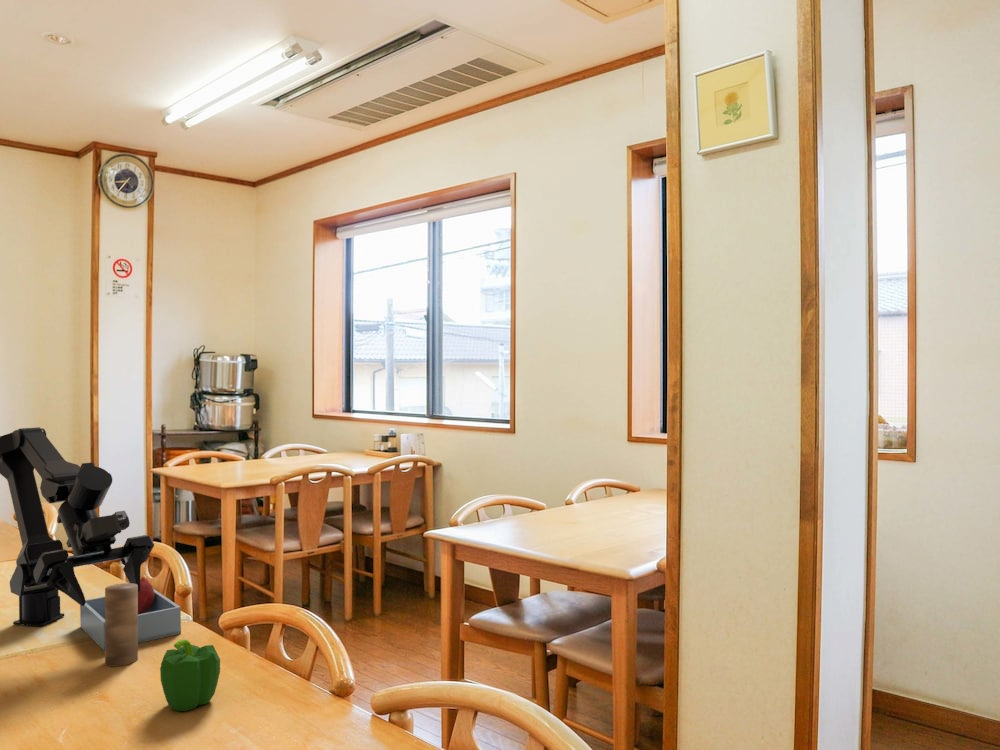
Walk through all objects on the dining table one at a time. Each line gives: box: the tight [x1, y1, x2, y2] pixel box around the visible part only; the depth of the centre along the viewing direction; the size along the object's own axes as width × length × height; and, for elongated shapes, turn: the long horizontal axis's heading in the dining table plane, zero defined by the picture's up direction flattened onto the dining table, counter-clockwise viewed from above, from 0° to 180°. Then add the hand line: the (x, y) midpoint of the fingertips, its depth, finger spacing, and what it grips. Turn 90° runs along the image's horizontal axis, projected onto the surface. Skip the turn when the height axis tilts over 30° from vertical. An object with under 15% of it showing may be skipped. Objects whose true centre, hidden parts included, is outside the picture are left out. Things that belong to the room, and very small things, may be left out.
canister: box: [104, 582, 139, 667], centre depth 133 cm, size 5×5×12 cm
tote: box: [79, 588, 182, 652], centre depth 148 cm, size 17×13×5 cm
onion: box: [138, 575, 155, 615], centre depth 154 cm, size 6×6×8 cm
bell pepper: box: [159, 639, 221, 712], centre depth 115 cm, size 8×8×10 cm
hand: (111, 597), depth 134 cm, fingers open, 9 cm apart
